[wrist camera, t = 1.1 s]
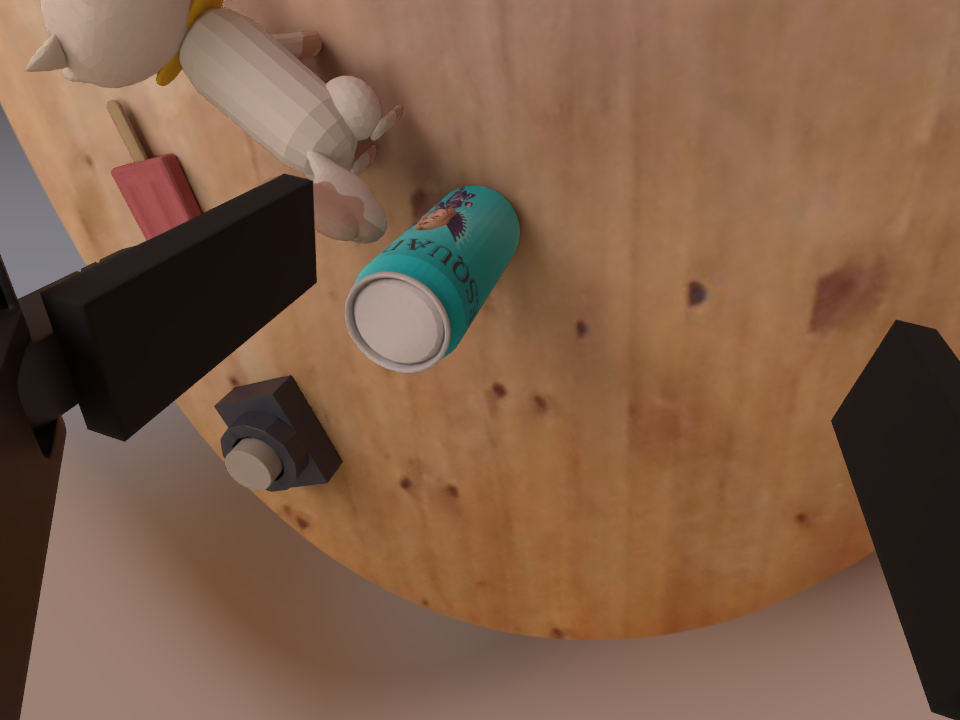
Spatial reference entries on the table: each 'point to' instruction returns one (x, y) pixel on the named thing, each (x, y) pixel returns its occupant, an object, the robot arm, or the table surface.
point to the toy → (235, 89)
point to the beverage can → (432, 280)
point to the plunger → (253, 464)
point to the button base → (280, 430)
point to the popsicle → (151, 183)
